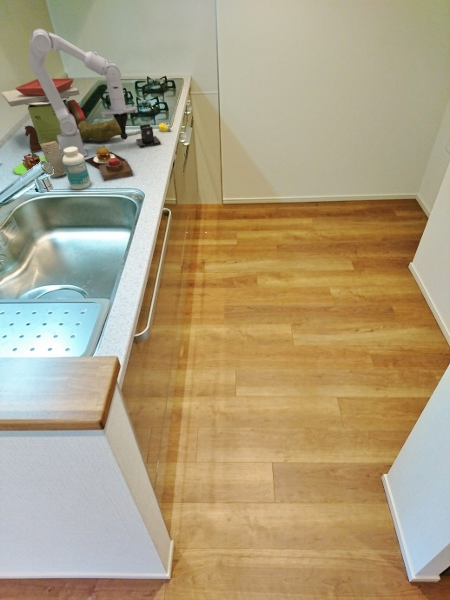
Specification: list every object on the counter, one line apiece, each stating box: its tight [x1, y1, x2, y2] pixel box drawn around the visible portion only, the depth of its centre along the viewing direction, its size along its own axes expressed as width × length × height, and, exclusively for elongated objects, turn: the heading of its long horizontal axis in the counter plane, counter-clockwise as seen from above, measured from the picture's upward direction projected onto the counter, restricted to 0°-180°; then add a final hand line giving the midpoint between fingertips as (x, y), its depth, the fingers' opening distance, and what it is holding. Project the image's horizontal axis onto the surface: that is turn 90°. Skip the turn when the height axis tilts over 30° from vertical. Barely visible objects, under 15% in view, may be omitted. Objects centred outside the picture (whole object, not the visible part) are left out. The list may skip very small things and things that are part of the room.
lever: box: [119, 126, 149, 141], centre depth 171 cm, size 13×3×3 cm, turn 112°
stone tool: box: [77, 117, 122, 142], centre depth 177 cm, size 20×9×10 cm
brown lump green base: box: [13, 152, 46, 176], centre depth 157 cm, size 15×15×6 cm
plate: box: [24, 97, 70, 106], centre depth 173 cm, size 21×21×2 cm
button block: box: [98, 160, 134, 182], centre depth 152 cm, size 11×10×4 cm
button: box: [109, 158, 119, 166], centre depth 151 cm, size 4×4×2 cm
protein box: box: [27, 99, 70, 145], centre depth 177 cm, size 10×15×16 cm
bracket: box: [135, 123, 162, 149], centre depth 174 cm, size 9×8×7 cm
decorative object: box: [67, 99, 86, 126], centre depth 184 cm, size 14×4×15 cm
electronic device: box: [0, 85, 81, 107], centre depth 173 cm, size 29×20×2 cm
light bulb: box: [158, 122, 172, 132], centre depth 186 cm, size 3×6×4 cm
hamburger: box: [84, 146, 126, 171], centre depth 161 cm, size 12×12×6 cm
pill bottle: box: [62, 147, 92, 190], centre depth 142 cm, size 8×7×14 cm
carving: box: [40, 141, 66, 177], centre depth 150 cm, size 6×8×12 cm
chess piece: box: [24, 125, 42, 153], centre depth 170 cm, size 5×5×10 cm
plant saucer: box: [14, 77, 75, 95], centre depth 169 cm, size 18×18×3 cm
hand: (123, 132), depth 169 cm, fingers closed, pressing on lever
